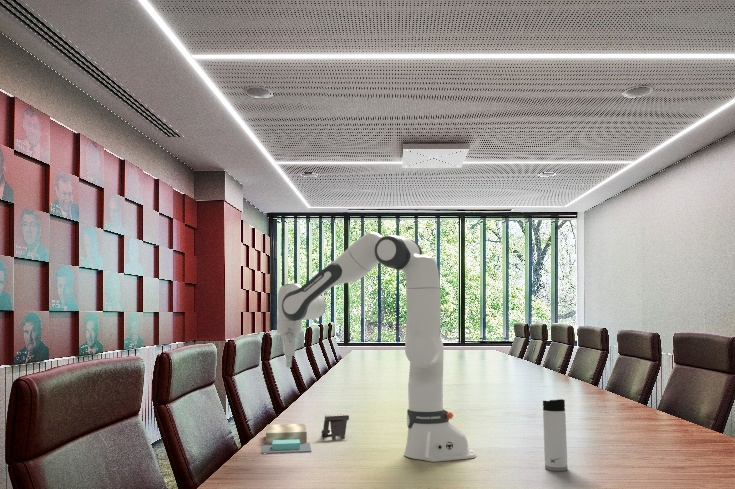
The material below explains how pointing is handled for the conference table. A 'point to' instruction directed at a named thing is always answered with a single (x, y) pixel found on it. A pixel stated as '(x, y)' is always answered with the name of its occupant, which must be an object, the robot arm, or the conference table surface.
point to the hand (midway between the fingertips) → (288, 367)
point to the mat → (303, 448)
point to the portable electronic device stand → (335, 426)
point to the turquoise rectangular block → (286, 444)
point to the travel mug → (555, 435)
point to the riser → (286, 432)
